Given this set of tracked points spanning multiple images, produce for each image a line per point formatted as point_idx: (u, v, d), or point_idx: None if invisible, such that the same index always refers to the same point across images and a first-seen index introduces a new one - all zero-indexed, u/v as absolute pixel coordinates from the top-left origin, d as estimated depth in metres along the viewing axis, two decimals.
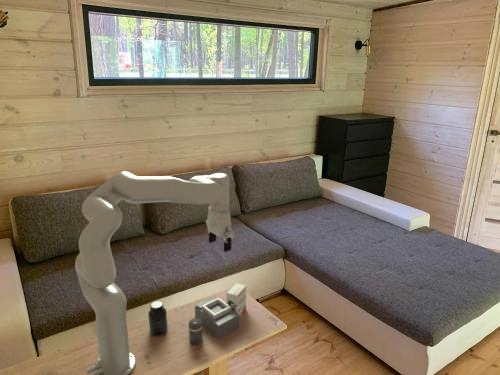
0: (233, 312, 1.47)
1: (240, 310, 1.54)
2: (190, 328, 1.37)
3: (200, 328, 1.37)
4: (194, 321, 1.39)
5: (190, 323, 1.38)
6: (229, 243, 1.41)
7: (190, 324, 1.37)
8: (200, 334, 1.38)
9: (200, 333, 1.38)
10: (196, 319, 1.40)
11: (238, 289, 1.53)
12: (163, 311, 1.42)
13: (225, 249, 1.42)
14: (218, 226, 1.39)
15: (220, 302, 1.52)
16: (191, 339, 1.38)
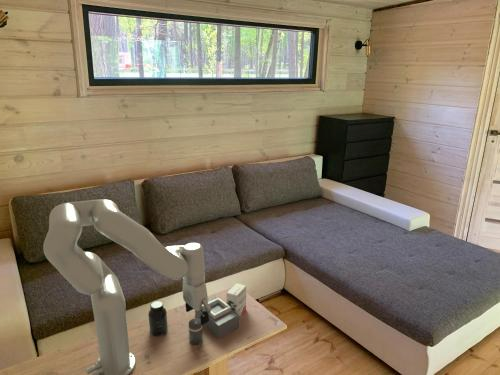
0: (233, 312, 1.47)
1: (240, 310, 1.54)
2: (190, 328, 1.37)
3: (200, 328, 1.37)
4: (194, 321, 1.39)
5: (190, 323, 1.38)
6: (206, 316, 1.33)
7: (190, 324, 1.37)
8: (200, 334, 1.38)
9: (200, 333, 1.38)
10: (196, 319, 1.40)
11: (238, 289, 1.53)
12: (163, 311, 1.42)
13: (202, 322, 1.33)
14: (193, 299, 1.31)
15: (220, 302, 1.52)
16: (191, 339, 1.38)
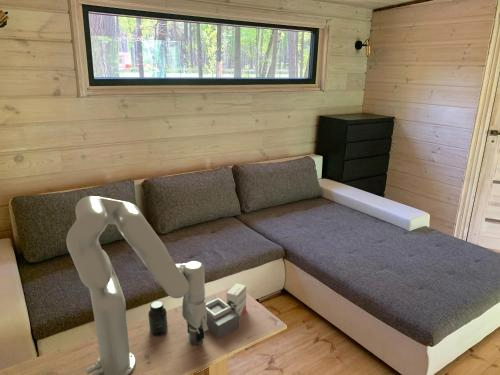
0: (233, 312, 1.47)
1: (240, 310, 1.54)
2: (190, 328, 1.37)
3: (200, 328, 1.37)
4: None
5: None
6: (202, 333, 1.36)
7: (190, 324, 1.37)
8: None
9: None
10: None
11: (238, 289, 1.53)
12: (163, 311, 1.42)
13: (197, 339, 1.37)
14: (193, 317, 1.33)
15: (220, 302, 1.52)
16: (191, 339, 1.38)
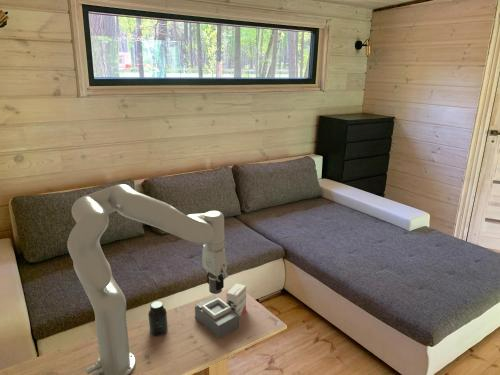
0: (233, 312, 1.47)
1: (240, 310, 1.54)
2: (210, 277, 1.41)
3: None
4: None
5: None
6: (221, 282, 1.41)
7: (210, 273, 1.41)
8: None
9: None
10: None
11: (238, 289, 1.53)
12: (163, 311, 1.42)
13: (217, 287, 1.41)
14: (213, 265, 1.37)
15: (220, 302, 1.52)
16: (211, 288, 1.42)
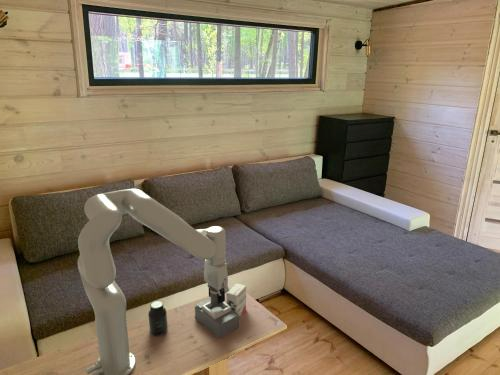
0: (233, 312, 1.47)
1: (240, 310, 1.54)
2: (212, 291, 1.44)
3: (221, 290, 1.44)
4: None
5: (211, 286, 1.45)
6: (223, 295, 1.43)
7: (212, 287, 1.44)
8: None
9: None
10: None
11: (238, 289, 1.53)
12: (163, 311, 1.42)
13: (219, 301, 1.44)
14: (215, 279, 1.40)
15: None
16: (212, 302, 1.45)
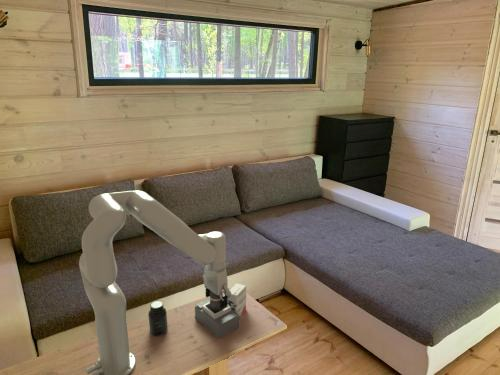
0: (233, 312, 1.47)
1: (240, 310, 1.54)
2: (211, 298, 1.44)
3: None
4: None
5: (211, 293, 1.45)
6: (225, 300, 1.42)
7: (211, 294, 1.45)
8: None
9: None
10: None
11: (238, 289, 1.53)
12: (163, 311, 1.42)
13: (221, 306, 1.43)
14: (214, 284, 1.40)
15: None
16: (212, 309, 1.46)
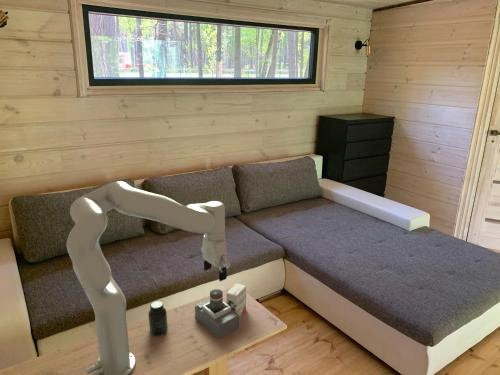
0: (233, 312, 1.47)
1: (240, 310, 1.54)
2: (211, 298, 1.44)
3: (221, 297, 1.45)
4: (215, 291, 1.47)
5: (211, 293, 1.45)
6: (224, 272, 1.38)
7: (211, 294, 1.45)
8: (221, 304, 1.46)
9: (221, 303, 1.46)
10: (216, 290, 1.48)
11: (238, 289, 1.53)
12: (163, 311, 1.42)
13: (220, 278, 1.39)
14: (213, 255, 1.36)
15: None
16: (212, 309, 1.46)
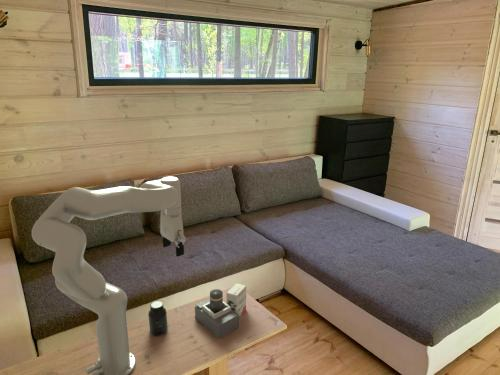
0: (233, 312, 1.47)
1: (240, 310, 1.54)
2: (211, 298, 1.44)
3: (221, 298, 1.45)
4: (215, 291, 1.47)
5: (211, 293, 1.45)
6: (181, 248, 1.39)
7: (211, 294, 1.45)
8: (221, 304, 1.46)
9: (221, 303, 1.46)
10: (216, 290, 1.48)
11: (238, 289, 1.53)
12: (163, 311, 1.42)
13: (177, 254, 1.40)
14: (169, 230, 1.37)
15: None
16: (212, 309, 1.46)
